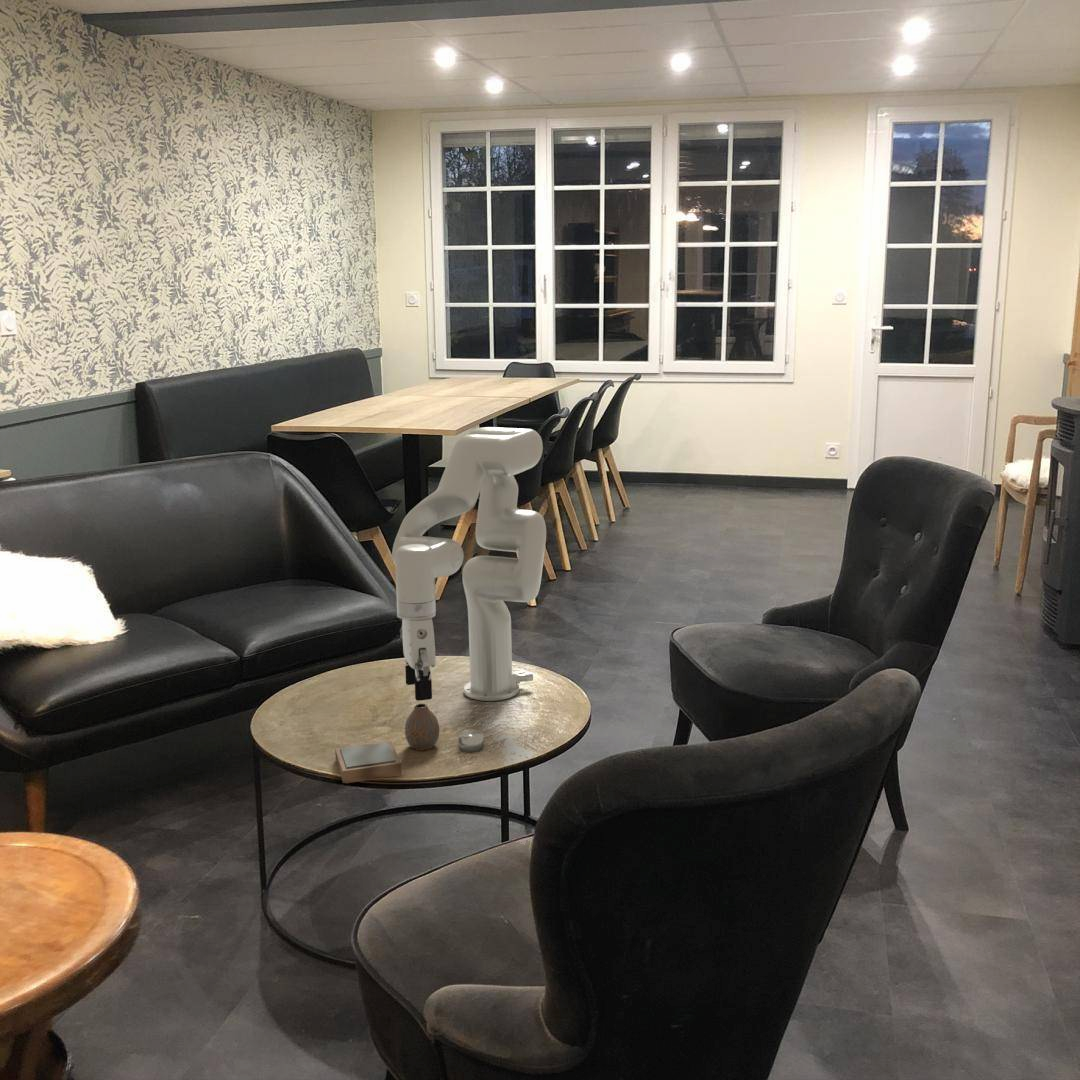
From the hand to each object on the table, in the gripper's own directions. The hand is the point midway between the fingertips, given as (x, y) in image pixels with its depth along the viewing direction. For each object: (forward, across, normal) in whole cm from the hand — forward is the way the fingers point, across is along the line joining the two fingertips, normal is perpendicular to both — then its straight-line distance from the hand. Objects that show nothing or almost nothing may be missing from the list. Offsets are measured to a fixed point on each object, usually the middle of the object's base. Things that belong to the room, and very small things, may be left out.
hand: (418, 691), depth 220 cm
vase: (+12, +1, -1) cm, 12 cm away
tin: (+12, -3, -10) cm, 16 cm away
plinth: (+12, -6, +11) cm, 18 cm away
